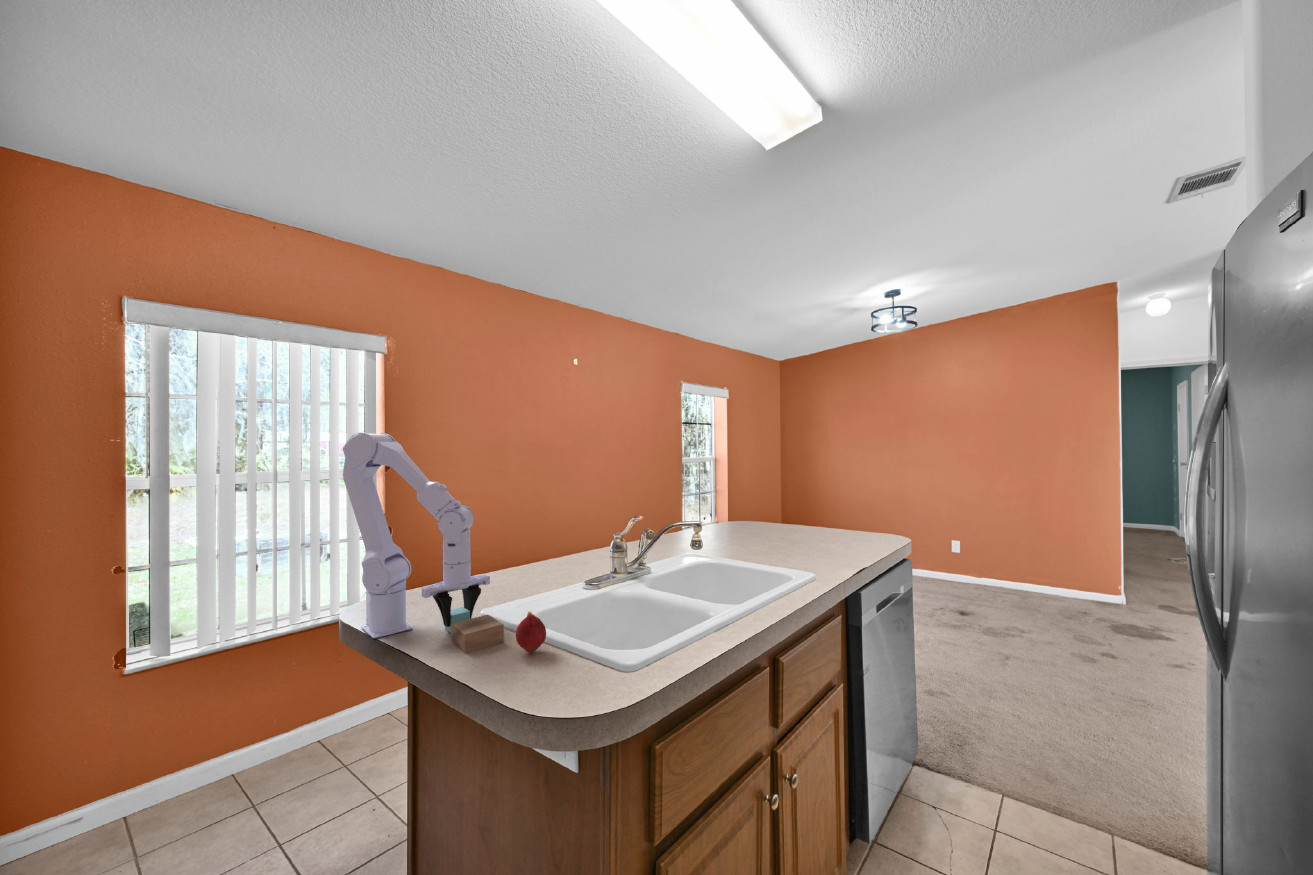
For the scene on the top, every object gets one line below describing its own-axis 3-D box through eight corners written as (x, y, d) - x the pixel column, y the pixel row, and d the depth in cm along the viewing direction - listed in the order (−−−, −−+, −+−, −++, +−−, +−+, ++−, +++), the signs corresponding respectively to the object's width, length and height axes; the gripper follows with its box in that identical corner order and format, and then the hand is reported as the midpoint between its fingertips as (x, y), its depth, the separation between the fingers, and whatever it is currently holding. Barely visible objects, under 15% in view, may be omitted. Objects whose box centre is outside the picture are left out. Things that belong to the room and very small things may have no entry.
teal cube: (444, 629, 111) (444, 611, 111) (462, 624, 114) (462, 607, 114) (452, 634, 108) (452, 615, 108) (470, 629, 111) (469, 611, 111)
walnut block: (451, 642, 104) (450, 623, 104) (488, 632, 110) (488, 614, 110) (465, 654, 98) (464, 634, 98) (503, 643, 104) (503, 624, 104)
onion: (550, 646, 101) (549, 607, 101) (540, 659, 95) (540, 617, 95) (522, 646, 101) (521, 606, 101) (511, 658, 96) (510, 616, 96)
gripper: (430, 570, 103) (430, 636, 103) (495, 558, 113) (496, 618, 113) (417, 565, 108) (418, 627, 108) (481, 554, 118) (482, 611, 118)
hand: (457, 622), depth 111 cm, fingers closed on teal cube, 4 cm apart
